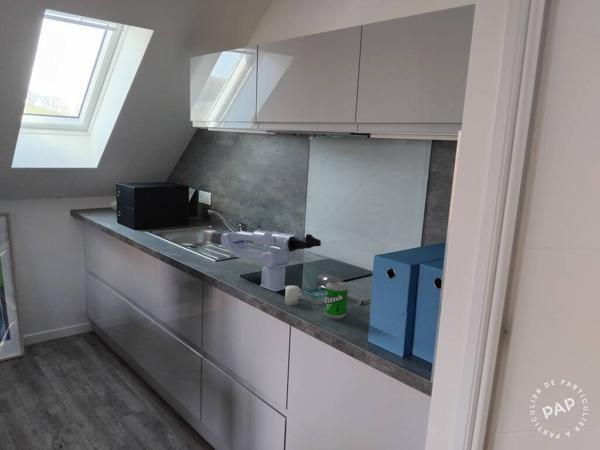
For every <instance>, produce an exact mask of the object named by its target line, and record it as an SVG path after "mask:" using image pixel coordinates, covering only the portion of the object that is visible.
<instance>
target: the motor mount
mask: <svg viewBox="0 0 600 450" xmlns="http://www.w3.org/2000/svg"><path fill="white" fill-rule="evenodd" d="M334 280H336V281H342V282H344V281H343V279H342V278H339V277H336V276H333V275H330V274H329V275H328V274H327V273H326V274H325V273H321V274H319V275H318V277H316V283H315V284H316V287H315V286H314V287H310V288H307V289H304V290H303V289H302V290H301V293H299V299H298V300H303V301H305V302H308V303H311V304H314V305H321V304H325V291H326V284H327V283H328V282H329V281H334Z"/></svg>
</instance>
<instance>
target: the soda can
mask: <svg viewBox="0 0 600 450" xmlns="http://www.w3.org/2000/svg"><path fill="white" fill-rule="evenodd" d="M348 288H349V287H348V285H347V283H346V282H345V281H343V282H342V281H336V280H334V281H329V282H328V283H327V284H326V291H325V303H324V309H323V314H324V315H325V316H326V317H327V318H328V319H332V320H342V319H343V318H344V317H346V315H347V304H348V303H347V302H348Z"/></svg>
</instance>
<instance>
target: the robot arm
mask: <svg viewBox="0 0 600 450" xmlns="http://www.w3.org/2000/svg"><path fill="white" fill-rule="evenodd" d="M299 233H300V232H298V231H294V232H293V234H292V233H283V232H280V231H279V232H278V230H274V231H271V232H270V231H269V230H265V231H264V230H262V229H256V230H254V231H253V232H250V231H246V230H245V231H244V230H242V231H241V230H240V231H234V232H227V233H226V232H223V233H222V235H221V237H220V242H221V245H222V247H223V249H224V250H227V251H228V252H230V253H232V255H233V256H235V257H236V258H239V259H244V260H250V261H256V262H261V264H262V265H264V266H263V267H262V269H261V280H260V281H261V282H260V283H261V284H260V285H259V287H261V288H263V289H267V290H269V291H272V292H279V291H283V290H286V286H287V285H285V282H286V281H285V279H286V267H287V266H288V264H289V262H290V261H291V260H290V259H291V256H290V252H294V251H298V250H303V249H311V248H314V247H321V246H322V244H321V243H322V241H321V240H320V239H319V238H316V237H314V236H313V235H312V234H310V233H307V234H306V235H305V236H303V235H301V234H299ZM247 241H252V243H253V244H255V245H262V246H265V248H271V247H277V248H283V249H279V250H268V249H261V248H260V249H259V248H253V247H248V244H247ZM287 249H288V250H287Z"/></svg>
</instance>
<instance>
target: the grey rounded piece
mask: <svg viewBox="0 0 600 450" xmlns="http://www.w3.org/2000/svg"><path fill="white" fill-rule="evenodd" d="M285 286H286V289H284V290H285V293H284V304H285V305H288V306H296V305H299V300H300V299H299V293H301V291H302V289H301V288H300V287H299V286H297V285H292V284H291V285H285Z"/></svg>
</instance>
